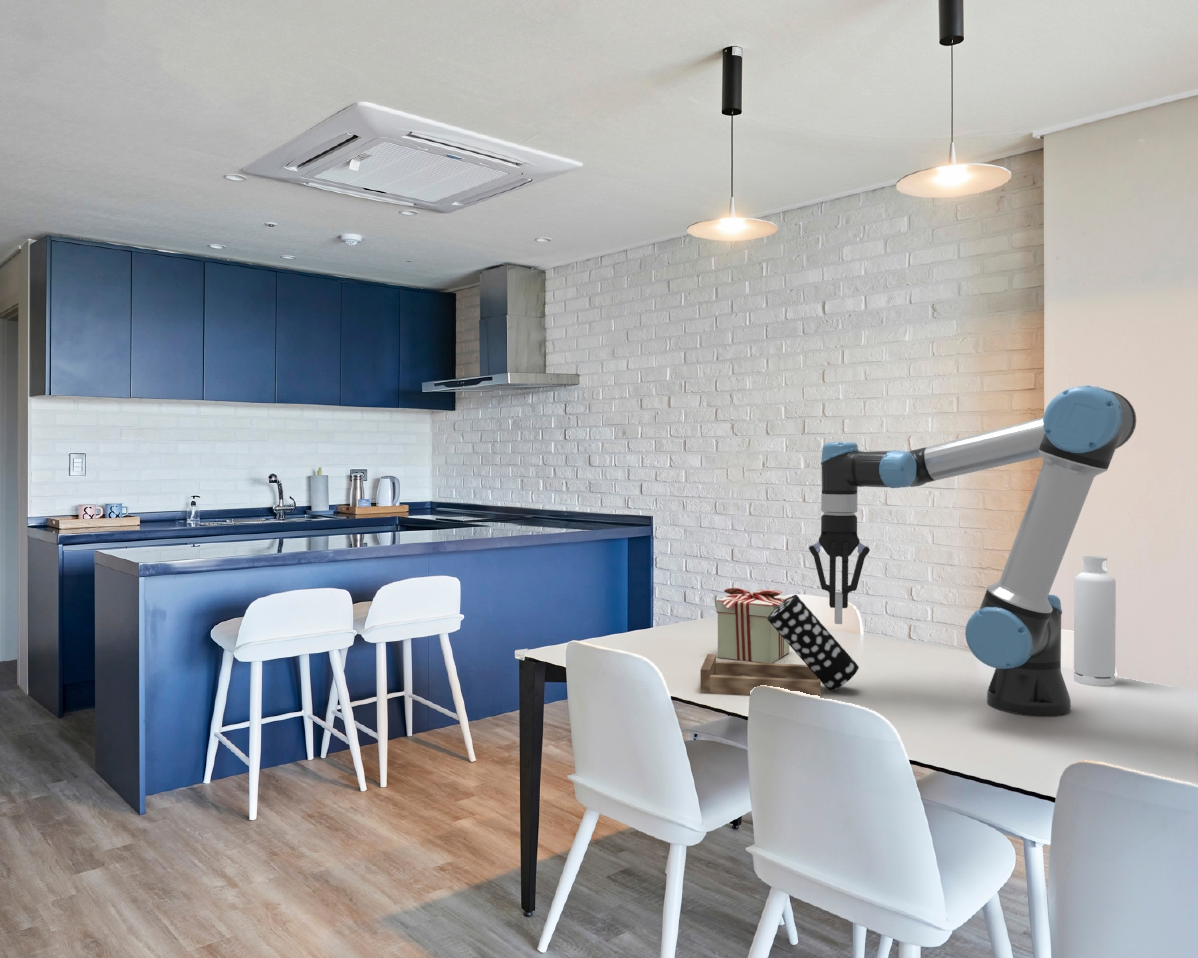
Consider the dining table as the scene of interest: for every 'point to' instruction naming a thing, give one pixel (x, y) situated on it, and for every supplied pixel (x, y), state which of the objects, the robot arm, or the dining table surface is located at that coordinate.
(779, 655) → the gift box
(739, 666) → the cradle
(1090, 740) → the dining table surface
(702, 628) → the dining table surface
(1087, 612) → the bottle
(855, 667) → the spotted tube
